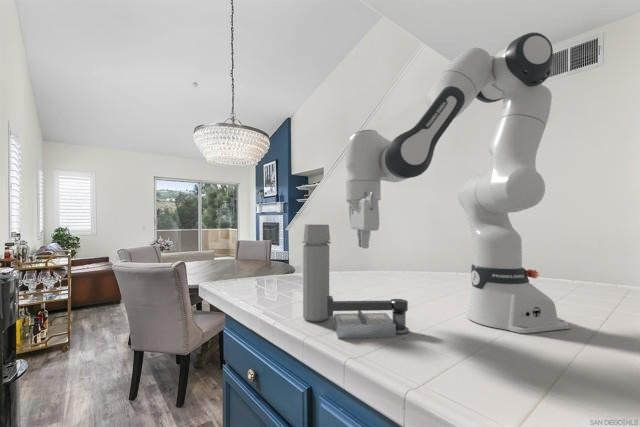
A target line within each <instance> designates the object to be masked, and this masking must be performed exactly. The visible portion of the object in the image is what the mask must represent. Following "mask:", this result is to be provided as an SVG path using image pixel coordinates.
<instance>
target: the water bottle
mask: <svg viewBox="0 0 640 427" xmlns="http://www.w3.org/2000/svg"><path fill="white" fill-rule="evenodd" d="M303 231H304V232H303V233H304V234H303V240H302V241H301V243H302V244H303V245H302V246H303V248H302V250H303V251H302V253H303V257H302V258H303V260H302V263H303V266H302V267H303V268H302V271H303V272H302V273H303V274H302V276H303V277H302V281H303V282H302V285H303V286H302V290H303V291H302V317H303V319H304V320H306V321H307V322H311V323H312V322H313V323H317V322H319V323H320V322H325V321H326V320H328V319H329V318H330V317H328V315H327V296H330V245H329V244H332V242H331V237H330V236H331V235H330V225H329V224H324V223H322V224H316V223H315V224H306V223H305V224H304V230H303Z"/></svg>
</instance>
